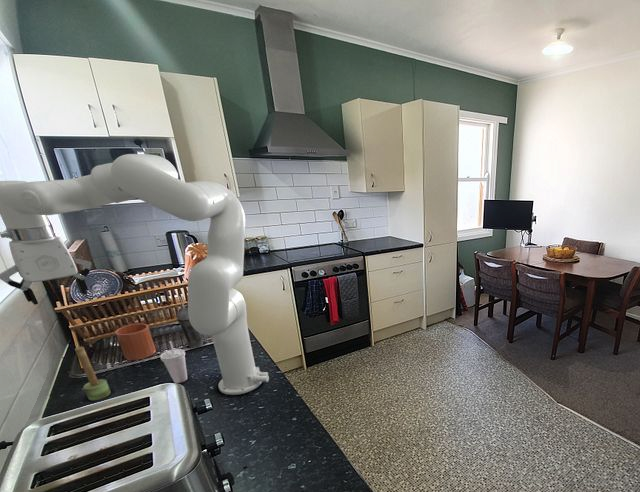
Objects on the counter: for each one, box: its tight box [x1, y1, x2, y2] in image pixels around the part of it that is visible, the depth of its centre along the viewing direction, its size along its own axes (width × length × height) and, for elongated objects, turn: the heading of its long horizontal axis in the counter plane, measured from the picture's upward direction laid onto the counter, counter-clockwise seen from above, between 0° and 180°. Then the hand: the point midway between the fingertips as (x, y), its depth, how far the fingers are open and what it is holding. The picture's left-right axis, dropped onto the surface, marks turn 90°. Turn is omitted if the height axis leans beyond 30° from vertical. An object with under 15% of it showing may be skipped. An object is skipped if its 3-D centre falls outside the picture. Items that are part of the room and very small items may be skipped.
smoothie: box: [159, 340, 188, 384], centre depth 108 cm, size 6×6×14 cm
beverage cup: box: [176, 295, 204, 348], centre depth 127 cm, size 7×7×20 cm
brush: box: [74, 346, 112, 401], centre depth 99 cm, size 5×5×16 cm
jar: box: [114, 322, 157, 361], centre depth 122 cm, size 9×9×10 cm
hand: (60, 298), depth 93 cm, fingers open, 9 cm apart
